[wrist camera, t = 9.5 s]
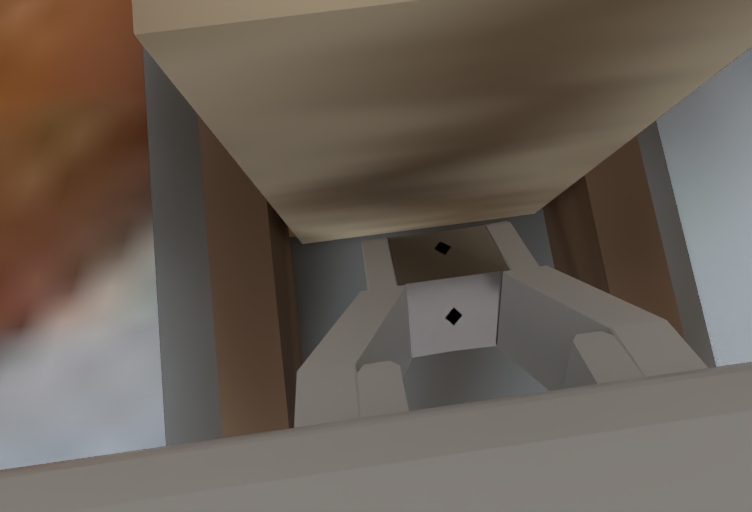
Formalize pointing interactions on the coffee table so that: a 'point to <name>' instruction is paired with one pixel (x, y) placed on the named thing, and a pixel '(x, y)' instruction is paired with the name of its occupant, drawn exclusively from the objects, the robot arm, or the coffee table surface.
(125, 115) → the coffee table surface
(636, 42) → the block
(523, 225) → the chute
